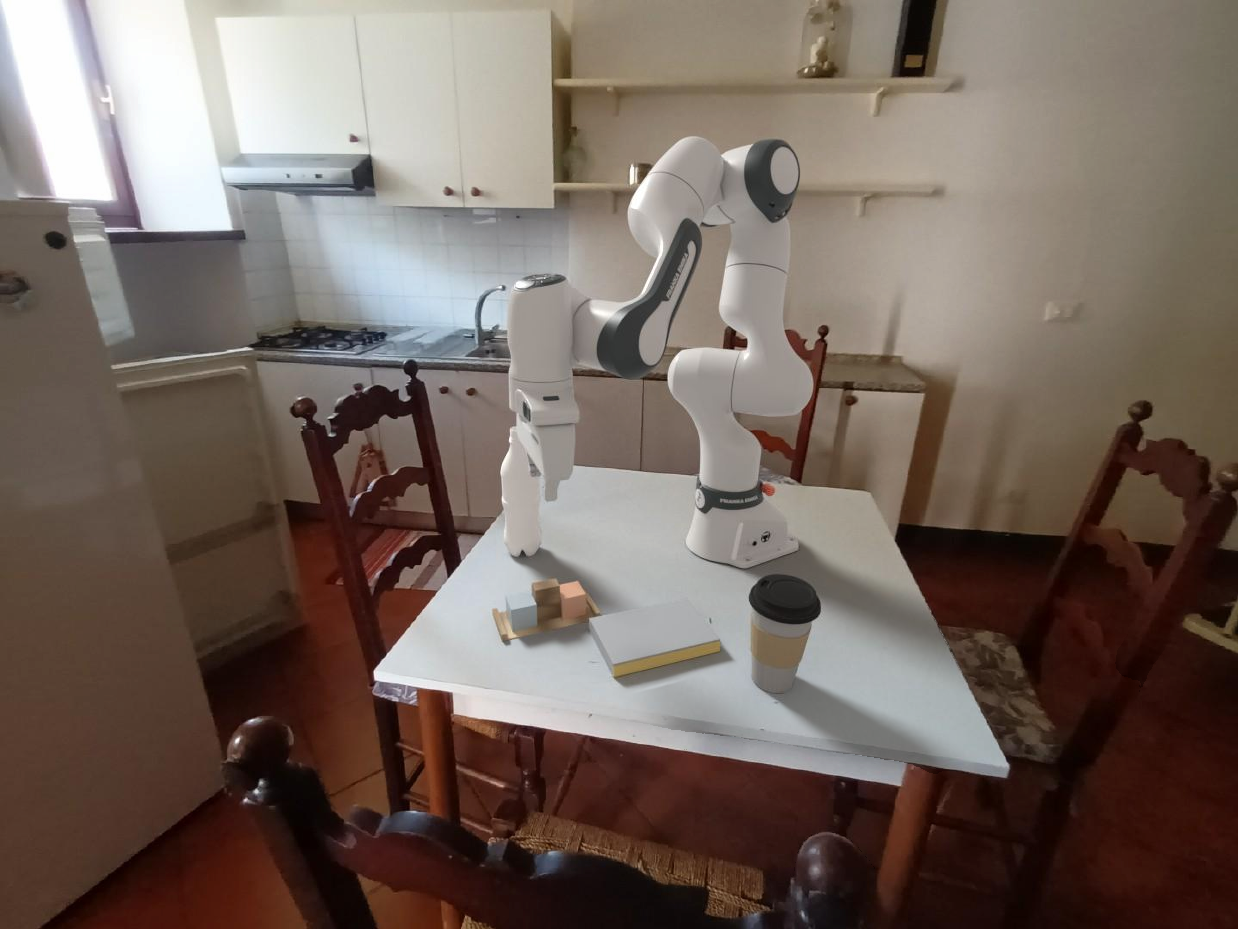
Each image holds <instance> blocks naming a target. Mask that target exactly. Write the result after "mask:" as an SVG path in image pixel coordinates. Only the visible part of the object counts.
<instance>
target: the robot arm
mask: <svg viewBox="0 0 1238 929" xmlns="http://www.w3.org/2000/svg"><path fill="white" fill-rule="evenodd" d="M800 167H801V166H800V162H799V159H798V157H797V153H796V152H795V151H794V149H793V148H792V146H791V145H790V144H789V143H788V142H786V141H785V140H783V139H779V138H778V139H777V138H768V139H760V140H758V141H755V143H751V144H747V145H742V146H739V147H736V148H732V149H729V150H727V151H725V152H724V153H722V154H721V152H720V150H719V149H718V147H717V146H716V145H715V144H714V143H713V142H711V141H709V139H707V138H704V137H700V136H697V135H696V136H695V135H694V136H687V137H683V138H682V139H680V140H678V141H677V142H676V143H675V144H674V145H672V146H671V147H670V148H669V149H668V150H667V151H666V152H665V153H664V154H663V155H662V156H661V157H660V158H659V160H657V162H656V163H655V164H654V165H653V166H652V168H651V170H649V172H648V173H647V175H646V176H645V178H643V180H642V181H641V183H640V185H639V186H638V187H637V189H636V190H635V192H634V194H633V195H632V197H631V200H630V203H629V205H628V208H627V223H628V224H627V225H628V226H629V227H628V228H629V230H630V233H631V235H632V238H634V240H635V242H636V243H637V244H638V246H640V248H641V249H642V250H643V251H644V253H646V254H648V255H649V256H651V257H652V258H654V259H656V261H655V262H654V264H653V267H652V269H651V271H650V273H649V275H648V278H647V280H646V281H645V284H644V286H643V288H642V291H641V293H640V294H639V295H638V296H636V297H635V298H633V299H631V300H628V301H622V302H620V301H619V302H618V301H610V300H604V299H603V300H602V299H599V298H592V297H591V296H590V295H587V294H585V293H583V292H581V291H579V290H578V289H576V288H575V287H574V286H573V285H572V284H571V283H569V280H568V278H567V277H566V276H565V275H562V274H559V273H543V274H531V275H528V276H525V277H522V278H520V279H518V280H517V281H515V282H514V283H513V284H512V286H511V289H510V293H509V296H508V297H509V298H508V301H507V317H506V318H507V320H506V327H507V328H506V329H507V330H506V336H507V337H506V338H507V347H508V350H509V352H510V353H509V354H510V366H509V368H508V397H509V398H508V400H509V402H508V404H509V405H508V406H509V409H510V410H511V411H512V412H515V413H516V429H517V436H518V439H519V440H520V442H521V443H522V445H523V446H524V448H525V450H526V455H527V461H528V472H529V474H530V475H531V476H532V477H536V476H537V477H538V476H539V477H541V476H542V479H543V486H542V487H541V488H542V497H543V499H544V501H545V502H555V501H557V500H558V489H559V486H560V483H561V481H567V480H570V478H571V476H572V474H573V471H574V462H575V453H576V452H575V451H576V428H575V425H574V424H576V423H579V421H580V408H579V405H578V403H577V401H576V398H575V395H574V394H575V392H574V386H573V385H574V384H573V383H574V382H573V379H574V378H573V377H574V374H573V369H572V367H573V366H574V365H576V364H577V365H582V366H584V367H587V368H592V369H595V370H600V371H604V372H607V373H609V374H612V375H615V376H617V377H620V378H623V379H625V380H630V381H635V380H639V379H642V378H644V377H646V376H647V375H648V374H649V373H651V372H652V371H653V370H654V369H656V368H657V367H658V365H659V364H660V362H661V361H662V359H663V357H664V355H665V352H666V349H667V345H668V342H669V336H670V333H671V329H672V326H673V323H674V320H675V318H676V315H677V314H678V311H679V309H680V307H681V304H682V303H683V299H684V297H685V295H686V292H687V290H688V287H689V286H690V283H691V282H692V278H693V276H694V274H695V270H696V268H697V266H698V264H699V260H700V256H701V254H702V249H703V248H702V246H703V235H702V232H701V230H700V227H701V228H714V227H717V226H719V225H728V224H729V229H730V233H731V235H730V236H731V241H730V245H729V248H728V252H727V256H726V260H725V261H726V262H725V266H724V274H723V279H722V286H721V292H720V296H719V303H718V312H719V315H720V317H721V319H722V321H723V322H724V323H725V324H726V325H727V326H728V327H730V328H731V329H733V330H734V331H736V332H737V333H739V334H741V335H742V336H744V337H745V338H746V339H747V340H746V341H747V346H746V349H743V350H737V349H736V350H735V349H727V348H718V347H717V348H716V347H710V346H709V347H708V346H707V347H695V348H694V347H693V348H687V349H682V350H680V351H679V352H678V353H677V354H676V355H675V356H674V358H673V359H672V360H671V362H670V364H669V367H668V370H667V386H668V389H669V391H670V393H671V395H672V396H673V398H674V399H675V401H677V402H678V403H679V404H680V405H681V406H682V407H683V408H684V409H685V410H686V411H687V413H688V414H689V415H690V418H691V419H692V421H693V422H694V425H695V427H696V430H697V432H698V437H699V438H698V439H699V449H700V455H699V456H700V457H699V459H700V460H699V463H700V464H699V474H698V475H697V478H696V482H695V483H696V486H695V493H694V494H695V497H694V499H695V502H694V504H695V506H694V512H693V513H694V514H693V517H692V521H691V525H690V527H689V528H690V529H689V531H688V533H687V536H686V538H685V544H686V546H687V548H688V549H689V551H691V552H692V553H693V554H695V555H696V556H698V557H701V558H703V559H705V560H707V561H712V562H716V563H717V562H718V563H723V564H729V565H731V566H733V567H737V568H740V569H749V568H751V567H754V566H757V565H760V564H762V563H767V562H768V561H771V560H775V559H777V558H780V557H782V556H786V555H788V554H791V553H794V552H796V551H798V550H799V541H798V539H797V538H796V537H795V535H794V533H792V532H791V531H789V523H788V519H787V517H786V516H785V514H784V513H783V512H782V510H781V509H779V507H777V506H776V505H775V504H773V503H772V502H771V501H769V499H767V497H772V496H774V494H775V492H776V488H775V487H774V486H772V485H771V484H770V483H768V482H767V483H764V481H763V480H761V479H760V478H759V472H760V463H761V457H762V456H761V455H762V446H761V444H760V441H759V440H758V438H757V437H756V436H755V435H754V434H753V433H752V432H751V431H749V430H748V429H746V428H745V427H743V426H742V425H741V424H740V423H739V422H738V421H737V420H736V417H735V416H734V413H741V414H747V415H748V414H749V415H754V416H755V415H756V416H762V417H786V416H796V415H797V414H799V413H800V412H801V411H802V410H804V408H805V407H806V406H807V405H808V403H809V402H810V400H811V398H812V395H813V391H814V377H813V374H812V371H811V369H810V367H809V366H808V364H807V363H806V362H805V361H804V360H803V359H802V358H801V357H800V356H799V355H798V354H797V353H796V352H795V350H794V349H793V347H792V346H791V344H790V342H789V340H788V337H787V335H786V331H785V325H784V303H785V294H786V287H787V280H788V275H789V274H788V273H789V267H790V261H791V260H790V258H791V226H790V222H789V220H788V218H787V217H786V216H787V215H788V214H789V212H790V210H791V208H792V206H793V203H794V200H795V197H796V195H797V191H798V188H799V185H800V179H801V168H800ZM764 494H765V495H766V496H767V497H764Z"/></svg>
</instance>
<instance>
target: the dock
mask: <svg viewBox="0 0 1238 929" xmlns="http://www.w3.org/2000/svg"><path fill="white" fill-rule="evenodd" d="M588 631H589V632H590V635H591V637H592V638H593V640H594V642H595V645H596V646H597V648H598V650H599V652H600V654H601V656H602V658H603V661H604V663H605V665H606V666H607V667H608V670H609V672H610V675H611V676H612V678H617V677H620V676H621V677H622V676H625V675H628V674H632V673H638V672H640V671H646V670H649V669H653V668H658V667H661V666H666V665H670V664H674V663H677V662H683V661H686V660H690V659H694V658H698V657H701V656H702V657H703V656H707V655H711V654H714V653H718V652H720V651H721V645H722V644H721V642H722V641H721V638H720V637H719V636H718V634H717V633H716V632H715V630H714V629H713V628H712V626H710V624H709V623H708V622H707V621H706V619H705V618H704V617H703V615H701V613H700V612H699V611H698V609H697V608H696V607H695V606H694V604H693V602H691V601H690V599H689V598H688V597H686V598H685V597H684V598H682V599H676V600H672V601H666V602H661V603H657V604H651V605H648V606H642V607H637V608H632V609H628V610H622V611H618V612H613V613H609V614H604V615H600V616H598V617H593V618H589V621H588Z"/></svg>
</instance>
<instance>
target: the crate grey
mask: <svg viewBox="0 0 1238 929" xmlns="http://www.w3.org/2000/svg"><path fill="white" fill-rule="evenodd" d="M504 598H505V610H506V616H507V619H508V622H509V624H510V627H511V630H512V631H517V630H521V629H526V628H530V627H535V626H537V604H536V602H535V600H534V598H533V596H532V591H531V590H527V591H522V592H517V593H513V594H512V593H511V594H508V595H505V597H504Z"/></svg>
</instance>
